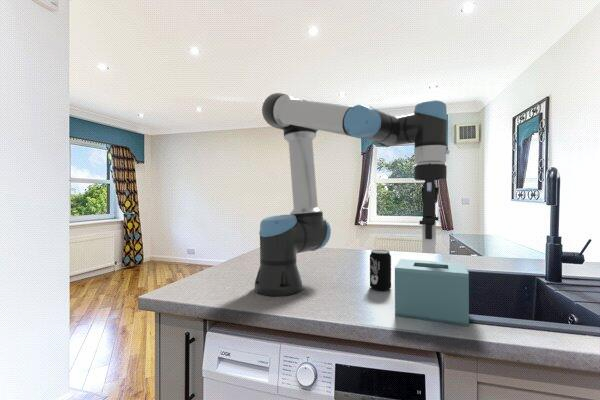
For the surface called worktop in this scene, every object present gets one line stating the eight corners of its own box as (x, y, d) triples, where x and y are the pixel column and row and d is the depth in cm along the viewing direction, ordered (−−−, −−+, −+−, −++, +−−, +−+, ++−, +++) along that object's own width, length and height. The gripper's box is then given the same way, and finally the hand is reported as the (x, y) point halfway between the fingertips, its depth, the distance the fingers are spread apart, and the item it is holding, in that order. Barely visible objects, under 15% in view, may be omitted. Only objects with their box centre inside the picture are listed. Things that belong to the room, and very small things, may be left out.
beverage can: (392, 292, 95) (391, 253, 95) (370, 291, 97) (370, 252, 96) (390, 286, 102) (390, 249, 102) (369, 285, 103) (369, 249, 103)
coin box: (394, 315, 76) (394, 267, 76) (400, 300, 87) (400, 258, 87) (468, 326, 70) (468, 273, 69) (465, 308, 80) (464, 263, 80)
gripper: (447, 158, 65) (446, 258, 66) (445, 168, 88) (445, 242, 88) (410, 159, 68) (409, 255, 69) (417, 169, 91) (417, 241, 91)
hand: (429, 248), depth 78 cm, fingers open, 13 cm apart
